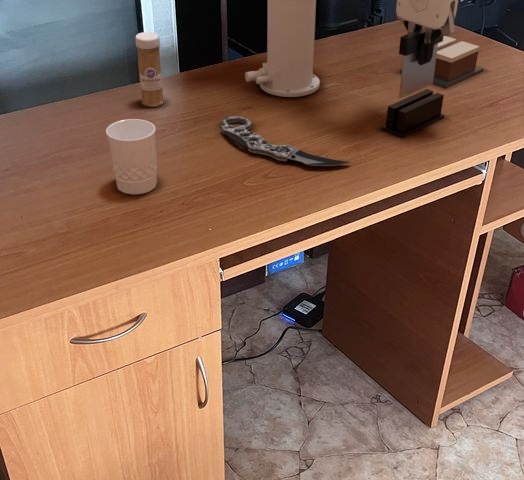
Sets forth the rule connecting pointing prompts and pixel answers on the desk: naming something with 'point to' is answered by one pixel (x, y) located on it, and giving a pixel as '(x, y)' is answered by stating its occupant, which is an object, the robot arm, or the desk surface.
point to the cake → (454, 62)
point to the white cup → (133, 155)
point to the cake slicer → (415, 63)
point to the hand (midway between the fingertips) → (419, 60)
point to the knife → (270, 145)
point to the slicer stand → (414, 113)
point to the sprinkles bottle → (150, 68)
